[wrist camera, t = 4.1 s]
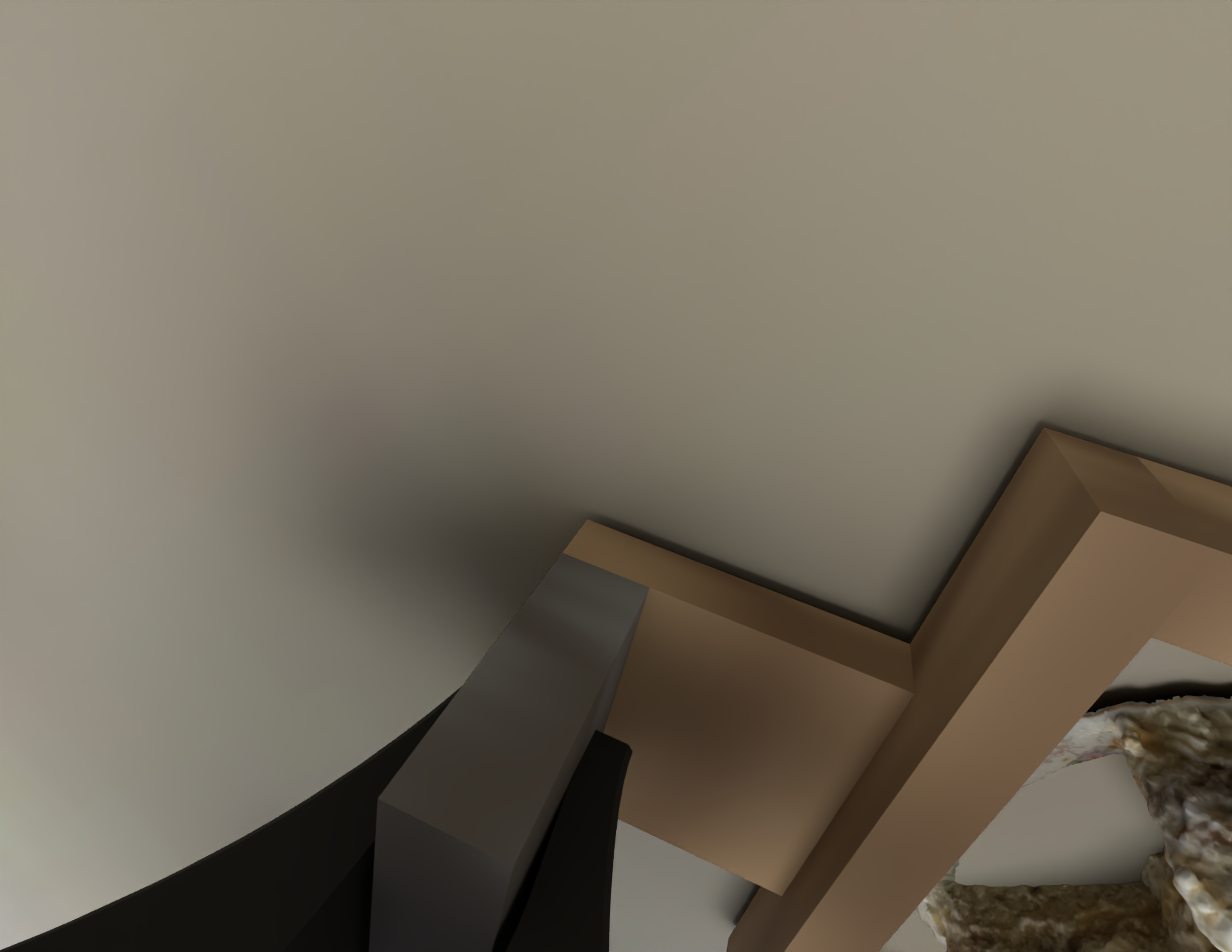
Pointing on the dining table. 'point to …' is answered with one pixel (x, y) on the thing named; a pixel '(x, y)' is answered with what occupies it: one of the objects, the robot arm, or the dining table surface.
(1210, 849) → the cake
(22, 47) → the dining table surface
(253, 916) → the robot arm
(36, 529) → the dining table surface
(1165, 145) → the dining table surface
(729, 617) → the pull frame
